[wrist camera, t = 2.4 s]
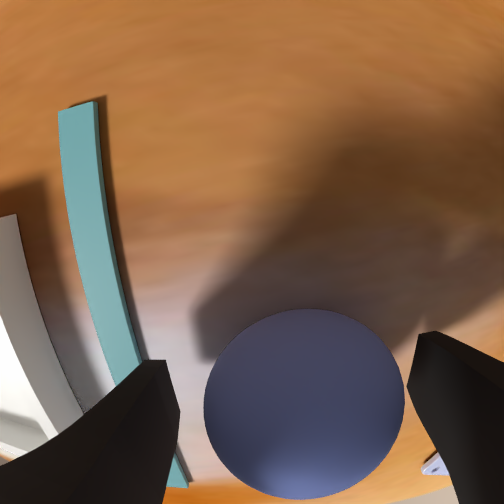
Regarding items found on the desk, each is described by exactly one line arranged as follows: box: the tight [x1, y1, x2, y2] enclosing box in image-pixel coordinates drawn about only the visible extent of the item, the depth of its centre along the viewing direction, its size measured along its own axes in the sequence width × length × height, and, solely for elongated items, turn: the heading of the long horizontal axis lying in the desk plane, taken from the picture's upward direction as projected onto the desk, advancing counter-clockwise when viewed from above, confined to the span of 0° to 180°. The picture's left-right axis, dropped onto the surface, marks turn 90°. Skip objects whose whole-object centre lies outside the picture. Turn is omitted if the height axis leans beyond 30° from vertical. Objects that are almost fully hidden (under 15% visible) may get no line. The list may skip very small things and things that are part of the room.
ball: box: [203, 309, 405, 500], centre depth 7 cm, size 5×5×5 cm
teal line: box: [58, 101, 189, 488], centre depth 9 cm, size 16×1×1 cm, turn 4°
